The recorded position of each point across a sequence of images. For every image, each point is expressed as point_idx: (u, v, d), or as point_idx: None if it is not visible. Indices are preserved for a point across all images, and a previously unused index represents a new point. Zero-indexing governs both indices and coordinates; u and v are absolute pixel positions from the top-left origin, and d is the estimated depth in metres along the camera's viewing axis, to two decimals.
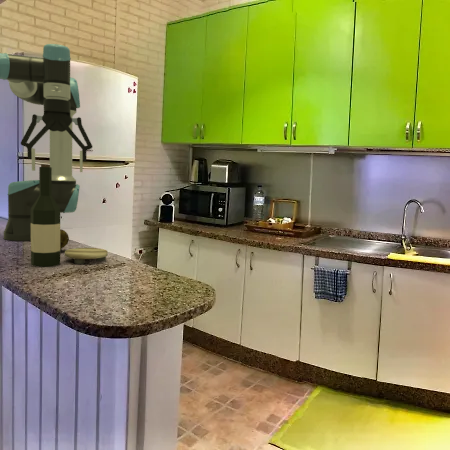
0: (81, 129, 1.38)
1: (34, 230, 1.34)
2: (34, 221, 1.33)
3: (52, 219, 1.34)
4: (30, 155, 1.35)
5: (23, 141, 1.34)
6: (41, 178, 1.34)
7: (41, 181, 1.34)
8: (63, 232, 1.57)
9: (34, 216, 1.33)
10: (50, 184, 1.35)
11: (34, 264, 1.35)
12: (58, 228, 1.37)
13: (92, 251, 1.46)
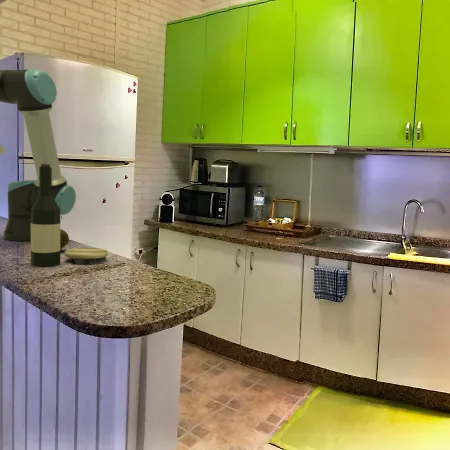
0: None
1: (34, 230, 1.34)
2: (34, 221, 1.33)
3: (52, 219, 1.34)
4: None
5: None
6: (41, 178, 1.34)
7: (41, 181, 1.34)
8: (63, 232, 1.57)
9: (34, 216, 1.33)
10: (50, 184, 1.35)
11: (34, 264, 1.35)
12: (58, 228, 1.37)
13: (92, 251, 1.46)
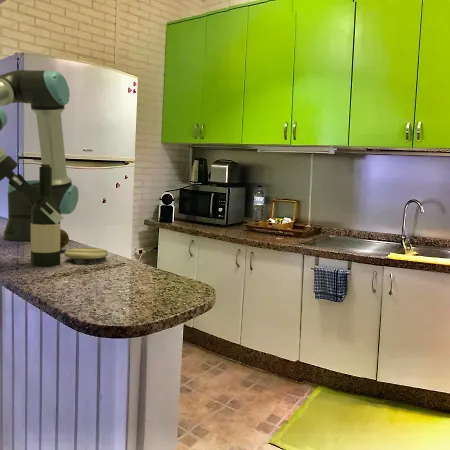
0: (22, 191, 1.27)
1: (34, 230, 1.34)
2: (34, 221, 1.33)
3: None
4: None
5: (30, 200, 1.41)
6: (41, 178, 1.34)
7: (41, 181, 1.34)
8: (63, 232, 1.57)
9: (34, 216, 1.33)
10: (50, 184, 1.35)
11: (34, 264, 1.35)
12: (58, 228, 1.37)
13: (92, 251, 1.46)
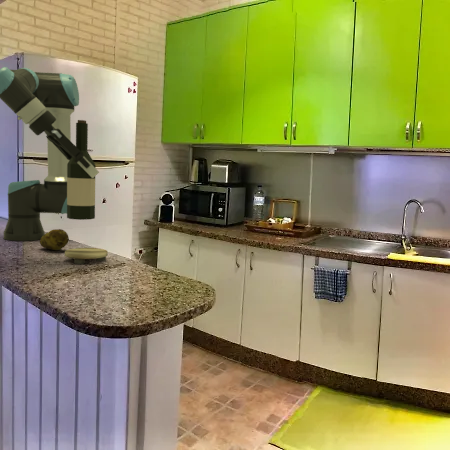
0: (61, 144, 1.32)
1: (71, 184, 1.38)
2: (71, 175, 1.38)
3: None
4: None
5: (66, 157, 1.45)
6: (78, 133, 1.39)
7: (78, 136, 1.39)
8: (63, 232, 1.57)
9: (71, 170, 1.38)
10: (86, 140, 1.40)
11: (70, 217, 1.40)
12: (93, 183, 1.42)
13: (92, 251, 1.46)
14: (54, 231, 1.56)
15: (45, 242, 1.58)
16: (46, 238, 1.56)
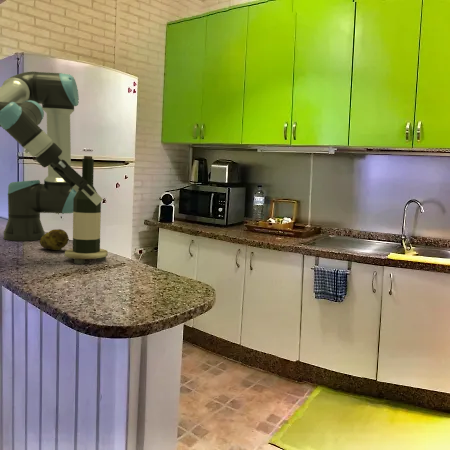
0: (65, 174, 1.33)
1: (77, 218, 1.41)
2: (77, 209, 1.41)
3: (94, 208, 1.42)
4: (77, 190, 1.49)
5: (66, 182, 1.49)
6: (84, 169, 1.42)
7: (84, 172, 1.42)
8: (63, 232, 1.57)
9: (77, 205, 1.41)
10: (92, 175, 1.43)
11: (76, 250, 1.42)
12: (98, 217, 1.44)
13: None
14: (54, 231, 1.56)
15: (45, 242, 1.58)
16: (46, 238, 1.56)
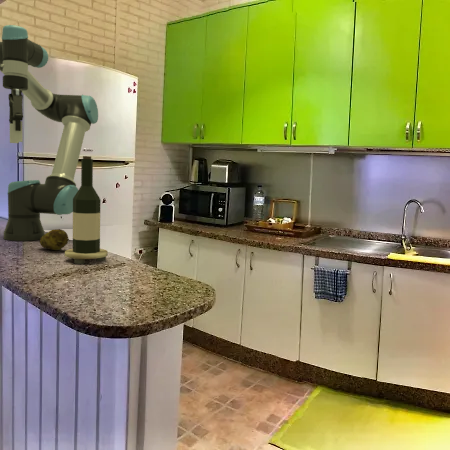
0: (13, 99, 1.44)
1: (77, 219, 1.41)
2: (77, 210, 1.41)
3: (94, 208, 1.42)
4: None
5: (9, 118, 1.58)
6: (83, 169, 1.41)
7: (83, 172, 1.41)
8: (63, 232, 1.57)
9: (77, 205, 1.40)
10: (91, 175, 1.43)
11: (76, 251, 1.42)
12: (98, 217, 1.44)
13: None
14: (54, 231, 1.56)
15: (45, 242, 1.58)
16: (46, 238, 1.56)
